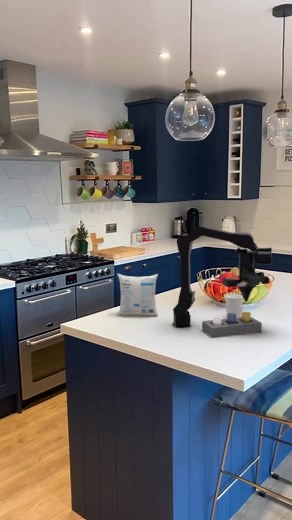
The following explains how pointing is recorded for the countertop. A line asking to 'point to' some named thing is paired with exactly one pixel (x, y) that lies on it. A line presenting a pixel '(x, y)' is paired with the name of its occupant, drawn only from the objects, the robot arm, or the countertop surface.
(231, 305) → the white cup
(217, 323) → the white key
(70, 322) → the countertop surface
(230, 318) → the navy key
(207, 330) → the key block
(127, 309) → the pouch
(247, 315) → the ochre key
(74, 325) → the countertop surface
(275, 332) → the countertop surface
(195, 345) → the countertop surface
